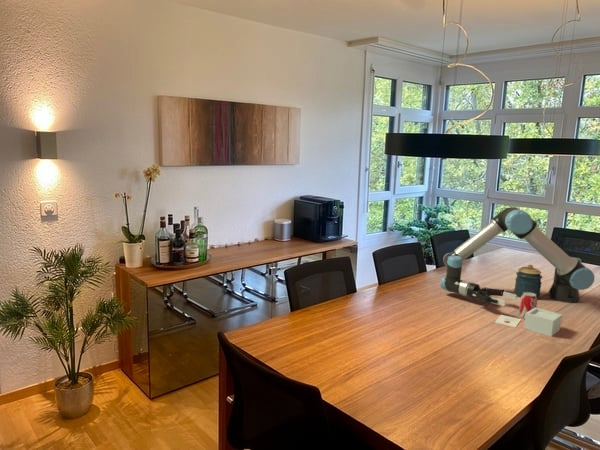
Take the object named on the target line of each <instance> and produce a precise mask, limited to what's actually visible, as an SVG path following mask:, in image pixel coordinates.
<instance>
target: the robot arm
mask: <svg viewBox="0 0 600 450" xmlns="http://www.w3.org/2000/svg"><path fill="white" fill-rule="evenodd" d="M507 231H510V232H511V233H512V234H513V235H514V236H515V237H516V238H518V240H524V241H525V242H527V243H528V244H529V245H530V246H531V247H532V248H533V249H534V250H535V251H536V252H538V254H540V255H541V256H542V257H543V258H544V259H545V260H546V261H547V262H549V263H550V264H551V266H553V267H554V274H553V281H552V282H553V283H552V284H551V286H550V288H549V289H548V292H547V296H548V297H549V298H550V299H553V300H554V301H558V302H564V303H570V304H571V303H574V304H575V303H578V302H580V299H581V296H580V291H581V290H582V291H585V290H587V289H589V288H590V287H592V286H593V284H594V283H595V273H594V272H593V271H592V270H591V269H590V268H588V267H586V266H585V265H584V264H583V262H582V259H581V258H579V257H574V256H569V255H568V254H567V253H566V252H565V251H564V250H563V249H562V248H560V246H558V245H557V244H556V242H554V241H552V239H550V238H549V236H547V235H546V234H545V233H544V232H542V230H541V229H540V228H539V227H538V222H537V221H536V220H534V219H533V217H531V215H530V213H528V212H526V211H524V210H522V209H520V208H518V207H515V206H510V207H507V208H504V209H503V210H501V211H500V212H499V213H497V214H496V215H495V216H493V217H492V218H491V219H490V222H489V223H488V224H487V225H485V226H484V227H483V228H481V229H480V230H478V232H476V233H474V234H473V235H472V236H470V238H468V239H467V240H466V241H464V242H463V243H462V244H460V245H459V246H458V247H456V248H455V249H454V250H453V251H451V252H448V253H446V254H444V256H443V258H442V261H443V264H444V266H445V267H446V273H445V276H443V277H442V278H441V280H440V284H439V285H440V287H441V289H442V290H444V291H447V292H449V293H454V294H456V295H457V294H458V295H462V296H463V297H468V298H472V299H477V300H478V301H481V302H483V303H485V304H488V305H491V304H495V305H497V306H501V307H505V306H506V300H505V299H510V300H513V301H517V297H518V296H517V295H515V294H514V293H511V292H507V291H505V289H498V288H497V289H496V288H491V287H490V288H489V287H483V288H481V287H480V284H477V283H474V282H470V281H466V280H463V279H461V278H462V269H463V261H464V260H466V259H468V258H469V257H470V256H471V255H473V254H474V253H475V252H477V251H478V250H479V249H480V248H482V247H483V246H485V245H486V244H487V243H489V242H490V241H491V240H493V239H494V238H496V236H499V234H504V233H505V232H507ZM579 290H580V291H579ZM491 296H492V297H491ZM494 296H495V297H494ZM497 297H502V298H505V299H501V298H497Z"/></svg>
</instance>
